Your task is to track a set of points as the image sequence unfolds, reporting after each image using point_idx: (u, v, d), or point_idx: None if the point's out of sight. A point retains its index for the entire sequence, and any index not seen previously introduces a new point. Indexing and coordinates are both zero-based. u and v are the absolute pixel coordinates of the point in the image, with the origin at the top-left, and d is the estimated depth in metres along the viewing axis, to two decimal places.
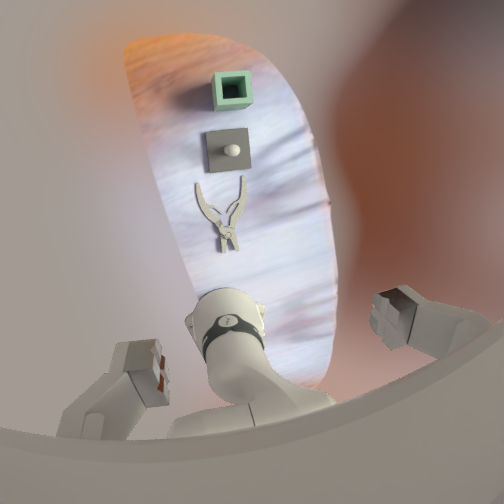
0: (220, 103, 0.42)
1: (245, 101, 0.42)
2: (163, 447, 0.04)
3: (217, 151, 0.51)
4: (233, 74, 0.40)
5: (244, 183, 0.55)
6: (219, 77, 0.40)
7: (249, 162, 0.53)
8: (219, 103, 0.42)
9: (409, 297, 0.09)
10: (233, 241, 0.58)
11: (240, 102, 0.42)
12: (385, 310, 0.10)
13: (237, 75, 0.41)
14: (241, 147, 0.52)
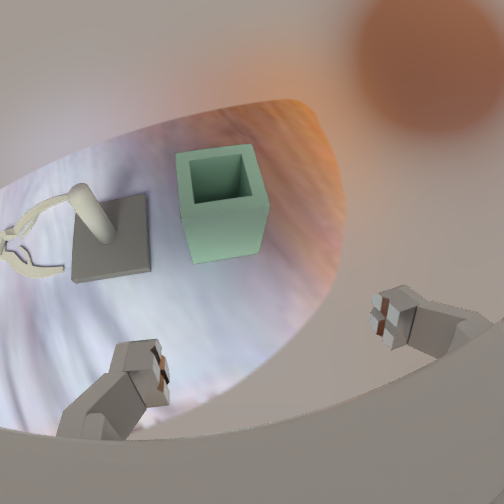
0: (179, 157, 0.20)
1: (183, 201, 0.19)
2: (163, 447, 0.04)
3: (107, 216, 0.26)
4: (251, 174, 0.20)
5: (51, 272, 0.23)
6: (240, 151, 0.21)
7: (81, 275, 0.23)
8: (179, 156, 0.20)
9: (409, 297, 0.09)
10: None
11: (180, 192, 0.19)
12: (385, 310, 0.10)
13: (250, 182, 0.20)
14: (109, 257, 0.24)
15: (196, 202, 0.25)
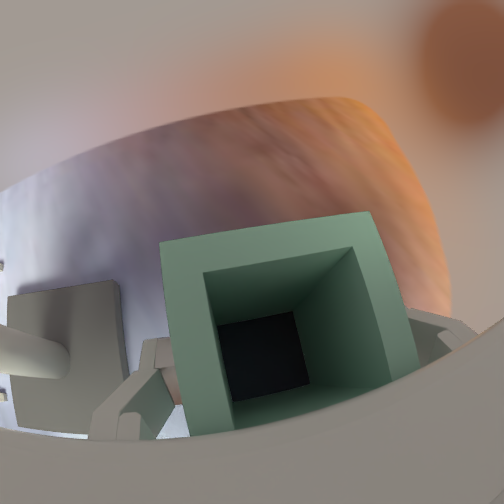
0: (171, 258, 0.07)
1: (201, 429, 0.05)
2: (163, 447, 0.04)
3: (52, 322, 0.12)
4: (387, 316, 0.07)
5: None
6: (349, 237, 0.08)
7: (29, 423, 0.10)
8: (171, 252, 0.07)
9: None
10: None
11: (188, 395, 0.06)
12: None
13: (386, 343, 0.06)
14: (65, 405, 0.11)
15: (217, 317, 0.12)
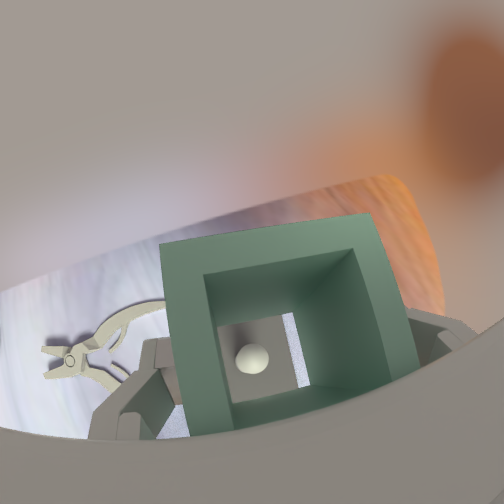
0: (171, 260, 0.07)
1: (202, 431, 0.05)
2: (163, 447, 0.04)
3: (241, 338, 0.25)
4: (387, 318, 0.07)
5: None
6: (349, 239, 0.08)
7: None
8: (171, 254, 0.07)
9: None
10: (59, 370, 0.21)
11: (188, 397, 0.06)
12: None
13: (386, 345, 0.06)
14: (255, 387, 0.23)
15: (217, 318, 0.12)
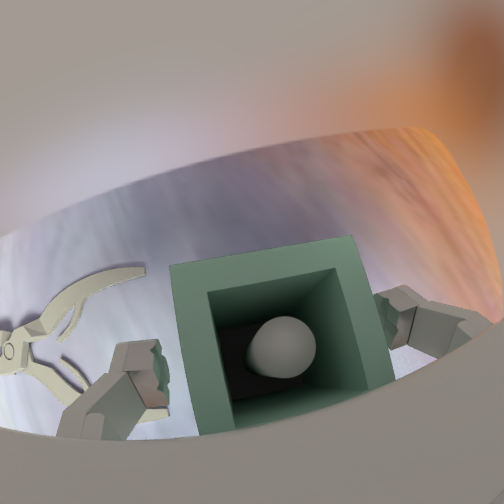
0: (180, 279, 0.08)
1: (206, 421, 0.07)
2: (163, 447, 0.04)
3: None
4: (364, 328, 0.08)
5: (143, 417, 0.14)
6: (332, 259, 0.09)
7: None
8: (180, 274, 0.08)
9: (409, 297, 0.09)
10: None
11: (196, 393, 0.07)
12: (385, 310, 0.10)
13: (362, 351, 0.08)
14: None
15: (218, 324, 0.13)
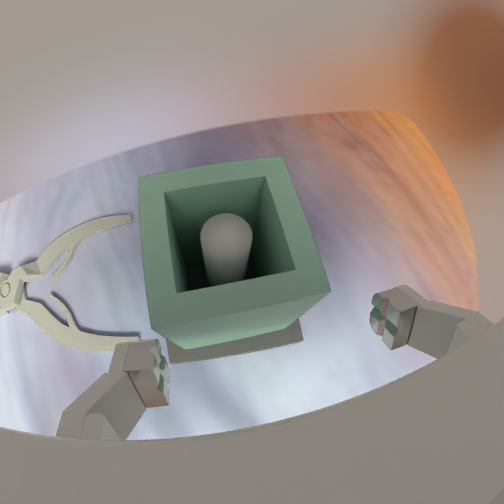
0: (145, 185, 0.10)
1: (153, 287, 0.09)
2: (163, 447, 0.04)
3: None
4: (289, 220, 0.10)
5: None
6: (263, 171, 0.11)
7: (188, 356, 0.15)
8: (145, 182, 0.10)
9: (409, 297, 0.09)
10: None
11: (147, 263, 0.09)
12: (385, 310, 0.10)
13: (289, 237, 0.10)
14: None
15: (184, 252, 0.16)
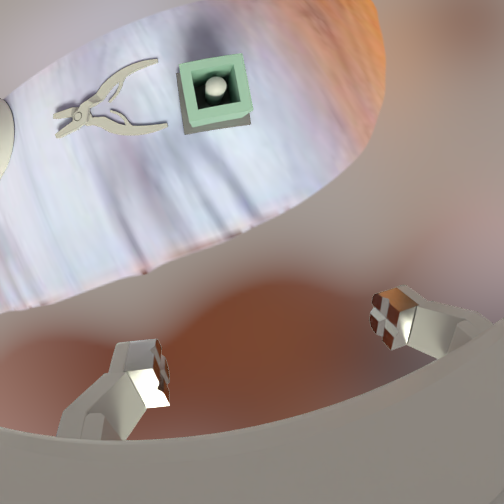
0: (182, 68, 0.22)
1: (189, 108, 0.23)
2: (163, 447, 0.04)
3: None
4: (241, 82, 0.23)
5: (155, 128, 0.31)
6: (232, 61, 0.22)
7: (194, 130, 0.31)
8: (182, 66, 0.22)
9: (409, 297, 0.09)
10: (68, 126, 0.28)
11: (186, 99, 0.23)
12: (385, 310, 0.10)
13: (240, 89, 0.23)
14: None
15: (193, 83, 0.27)
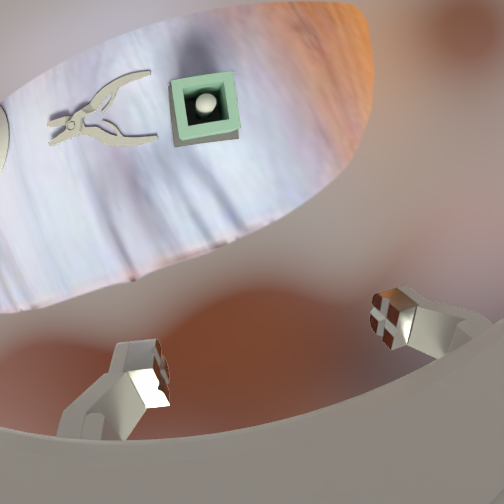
0: (174, 84, 0.23)
1: (180, 124, 0.24)
2: (163, 447, 0.04)
3: None
4: (230, 100, 0.25)
5: (145, 140, 0.32)
6: (223, 79, 0.24)
7: (183, 143, 0.32)
8: (174, 83, 0.23)
9: (409, 297, 0.09)
10: (61, 135, 0.28)
11: (177, 116, 0.24)
12: (385, 310, 0.10)
13: (229, 107, 0.25)
14: None
15: (184, 97, 0.28)
